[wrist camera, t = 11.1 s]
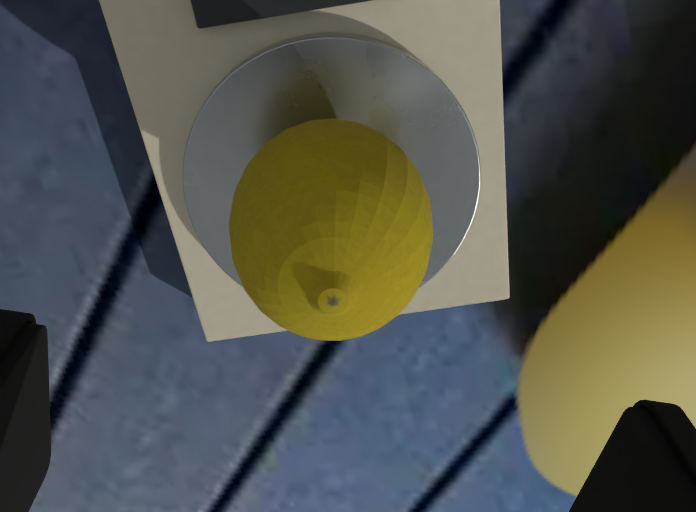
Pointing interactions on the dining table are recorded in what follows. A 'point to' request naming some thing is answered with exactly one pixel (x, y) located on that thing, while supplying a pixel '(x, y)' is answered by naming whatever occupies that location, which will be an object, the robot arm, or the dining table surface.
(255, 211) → the lemon
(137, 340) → the dining table surface
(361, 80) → the scale
